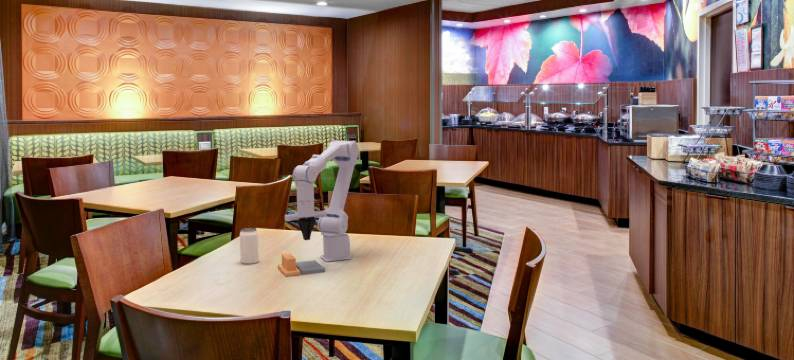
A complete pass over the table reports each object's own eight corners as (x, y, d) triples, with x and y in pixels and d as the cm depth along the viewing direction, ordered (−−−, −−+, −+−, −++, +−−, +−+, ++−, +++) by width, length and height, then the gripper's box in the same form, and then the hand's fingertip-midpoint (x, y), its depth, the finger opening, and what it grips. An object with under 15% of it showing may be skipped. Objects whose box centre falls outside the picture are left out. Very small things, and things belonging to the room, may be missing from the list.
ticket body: (315, 263, 219) (315, 259, 219) (324, 271, 208) (324, 268, 208) (293, 265, 216) (293, 262, 216) (301, 274, 205) (301, 270, 205)
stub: (292, 265, 216) (291, 251, 215) (300, 274, 205) (300, 259, 204) (277, 267, 214) (277, 253, 213) (285, 276, 203) (285, 261, 202)
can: (254, 264, 218) (253, 231, 216) (237, 263, 219) (236, 231, 218) (262, 260, 224) (260, 227, 223) (245, 259, 225) (244, 227, 224)
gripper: (320, 197, 216) (321, 234, 217) (281, 200, 208) (282, 240, 210) (328, 199, 210) (329, 238, 212) (288, 203, 202) (290, 243, 204)
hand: (306, 239), depth 210 cm, fingers closed
